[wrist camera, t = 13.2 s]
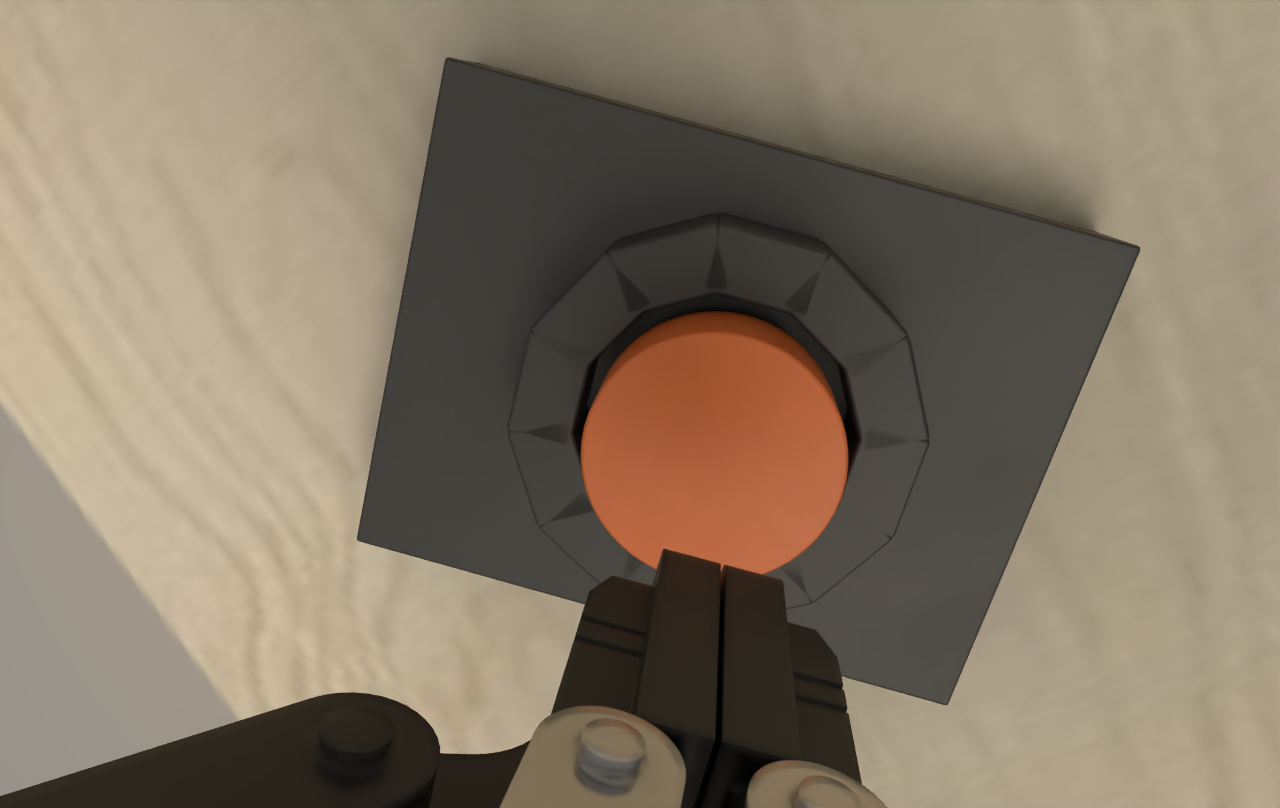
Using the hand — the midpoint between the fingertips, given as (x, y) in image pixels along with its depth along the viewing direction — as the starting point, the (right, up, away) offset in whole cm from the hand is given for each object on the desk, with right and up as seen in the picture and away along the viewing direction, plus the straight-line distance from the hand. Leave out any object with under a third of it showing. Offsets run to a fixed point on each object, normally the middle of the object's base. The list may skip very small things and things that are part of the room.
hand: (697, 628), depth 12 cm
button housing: (+1, +3, +9) cm, 10 cm away
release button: (+1, +2, +6) cm, 6 cm away
